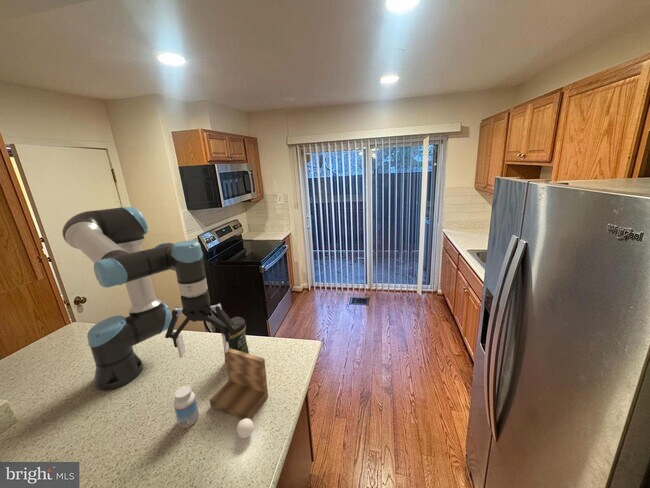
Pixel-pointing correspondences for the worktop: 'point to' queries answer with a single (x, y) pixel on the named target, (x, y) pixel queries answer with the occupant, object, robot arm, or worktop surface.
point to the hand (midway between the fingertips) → (204, 352)
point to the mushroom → (245, 428)
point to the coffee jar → (238, 336)
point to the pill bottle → (185, 406)
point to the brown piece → (242, 385)
